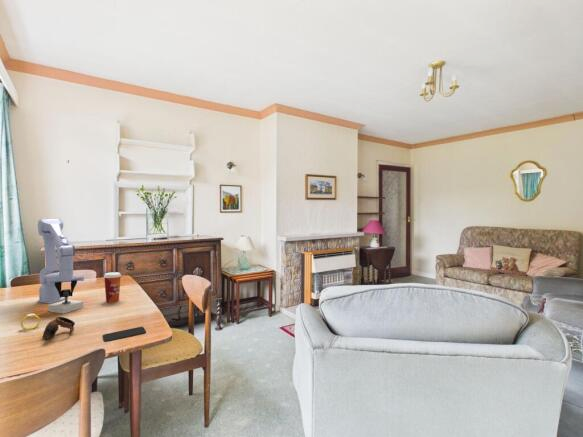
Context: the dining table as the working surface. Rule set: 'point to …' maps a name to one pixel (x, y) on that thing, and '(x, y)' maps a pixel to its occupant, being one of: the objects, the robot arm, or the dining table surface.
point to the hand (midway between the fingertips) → (66, 296)
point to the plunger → (66, 295)
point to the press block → (65, 306)
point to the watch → (30, 316)
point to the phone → (123, 334)
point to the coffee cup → (112, 286)
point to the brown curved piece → (53, 327)
